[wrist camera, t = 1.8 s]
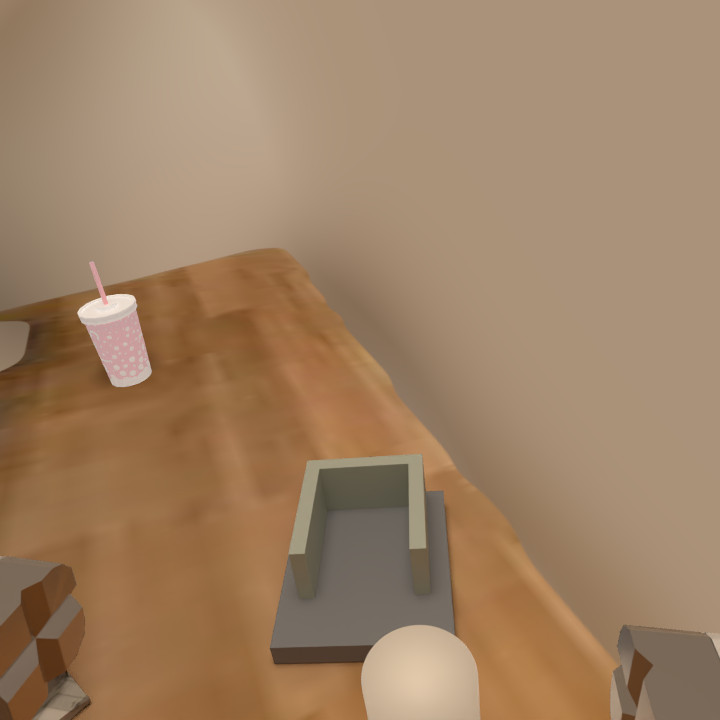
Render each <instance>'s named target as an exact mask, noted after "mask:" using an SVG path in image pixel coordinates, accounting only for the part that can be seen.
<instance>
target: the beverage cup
mask: <svg viewBox="0 0 720 720" xmlns="http://www.w3.org/2000/svg"><path fill="white" fill-rule="evenodd" d="M89 264H90V267H91V270H92V272H93V275H94V278H95V281H96V284H97V286H98V289H99V292H100V295H101V298H99V299H96V300H93V301H91V302H89V303H87V304H85V305H84V306H83V307H81V308H80V309H79V311H78V312H77V313H78V315H79V318H80V320H81V322H82V323H84V324H85V325H86V327H87V330H88V332H89V334H90V336H91V339H92V341H93V343H94V345H95V347H96V350H97V352H98V354H99V356H100V358H101V361H102V363H103V365H104V367H105V369H106V372H107V374H108V376H109V378H110V381H111V383H112V385H114V386H116V387H126V386H132V385H135V384H138V383H140V382H142V381H144V380H145V379H147V378H148V377H149V376H150V375H151V372H152V370H151V366H150V363H149V359H148V355H147V351H146V347H145V343H144V339H143V335H142V331H141V327H140V323H139V319H138V316H137V312H136V308H137V304H136V299H135V298H134V296H132V295H128V294H116V295H110V296H106V295H105V292H104V290H103V287H102V284H101V281H100V278H99V276H98V273H97V270H96V267H95V264H94V262H93V261H92V262H89Z"/></svg>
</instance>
